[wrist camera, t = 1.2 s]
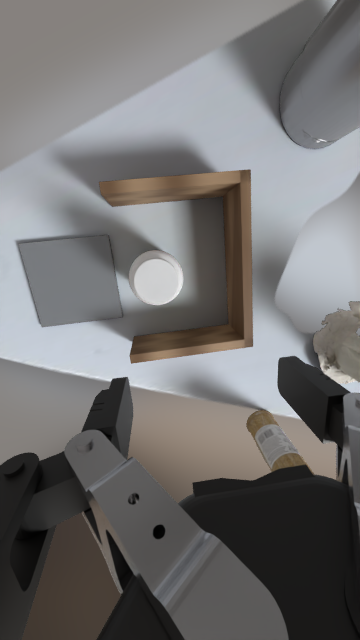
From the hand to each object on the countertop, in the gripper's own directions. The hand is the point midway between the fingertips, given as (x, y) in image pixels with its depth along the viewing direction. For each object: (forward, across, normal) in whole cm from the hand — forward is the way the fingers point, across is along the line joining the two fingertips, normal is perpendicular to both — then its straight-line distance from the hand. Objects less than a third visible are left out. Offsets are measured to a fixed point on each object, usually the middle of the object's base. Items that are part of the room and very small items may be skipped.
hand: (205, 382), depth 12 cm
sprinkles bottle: (+20, -12, +21) cm, 31 cm away
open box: (+20, -1, -4) cm, 20 cm away
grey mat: (+19, +12, -4) cm, 23 cm away
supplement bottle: (+20, +2, -4) cm, 20 cm away
